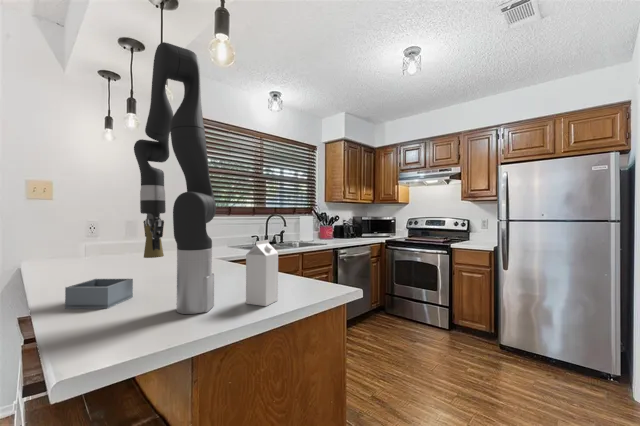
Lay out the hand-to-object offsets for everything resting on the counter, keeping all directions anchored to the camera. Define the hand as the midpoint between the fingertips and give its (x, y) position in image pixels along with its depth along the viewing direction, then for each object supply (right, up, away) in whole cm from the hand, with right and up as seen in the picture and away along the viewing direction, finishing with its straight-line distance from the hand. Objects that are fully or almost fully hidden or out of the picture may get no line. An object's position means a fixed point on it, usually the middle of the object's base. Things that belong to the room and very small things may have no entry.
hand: (153, 249), depth 104 cm
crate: (-10, -15, -10) cm, 21 cm away
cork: (0, -3, 0) cm, 3 cm away
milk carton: (+39, -15, -10) cm, 43 cm away
